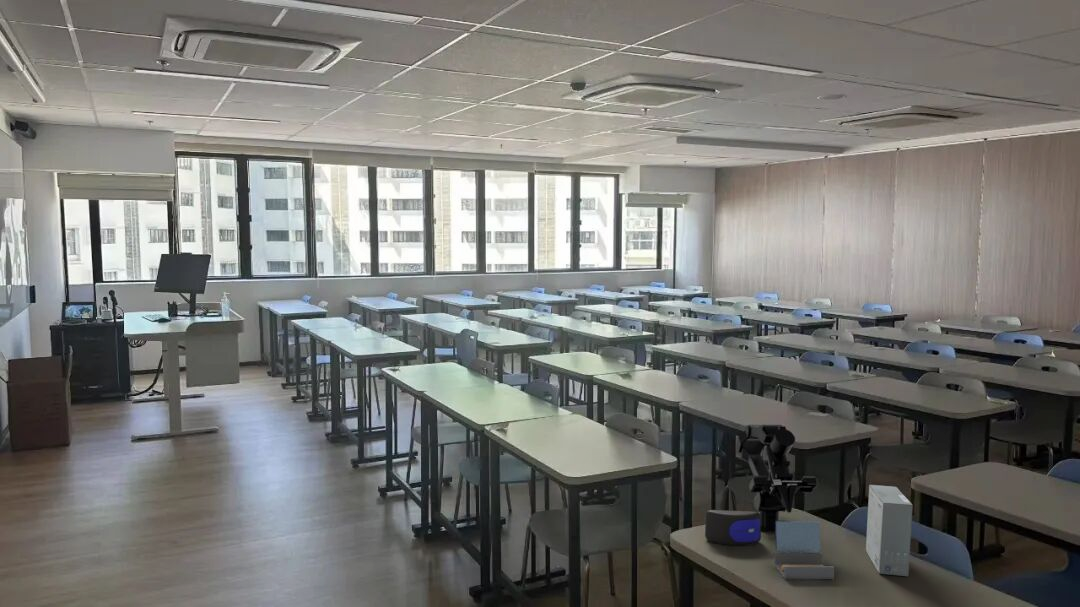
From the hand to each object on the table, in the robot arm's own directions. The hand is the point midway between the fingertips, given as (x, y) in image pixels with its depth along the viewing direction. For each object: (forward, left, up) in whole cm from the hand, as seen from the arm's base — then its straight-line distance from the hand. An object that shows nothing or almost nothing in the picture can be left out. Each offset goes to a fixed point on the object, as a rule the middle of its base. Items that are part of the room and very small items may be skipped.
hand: (789, 512), depth 204 cm
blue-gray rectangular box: (+7, +1, -4) cm, 8 cm away
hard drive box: (+2, +26, -12) cm, 29 cm away
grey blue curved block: (-5, -15, -12) cm, 20 cm away
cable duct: (+12, +2, -12) cm, 17 cm away
